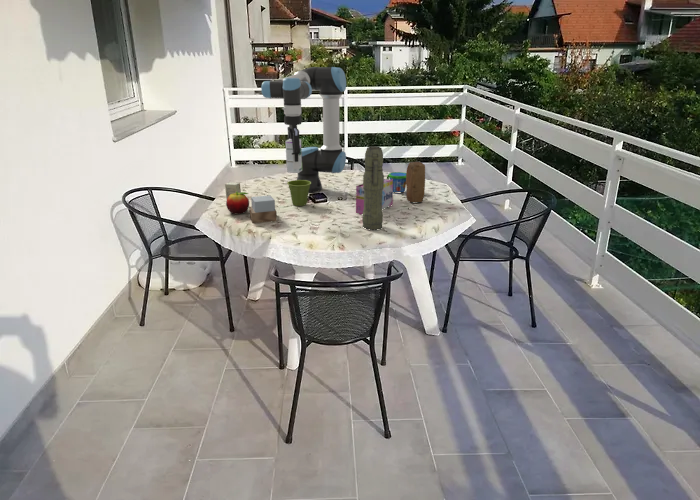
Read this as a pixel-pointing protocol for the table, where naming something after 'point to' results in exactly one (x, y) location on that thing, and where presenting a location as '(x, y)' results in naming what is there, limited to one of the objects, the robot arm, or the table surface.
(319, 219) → the table surface
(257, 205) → the top block
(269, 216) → the base block
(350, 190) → the table surface
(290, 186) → the plant pot
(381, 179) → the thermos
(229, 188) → the skincare box
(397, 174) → the snack cup
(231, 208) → the fruit
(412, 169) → the block
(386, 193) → the gum box
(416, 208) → the table surface
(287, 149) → the syrup box
